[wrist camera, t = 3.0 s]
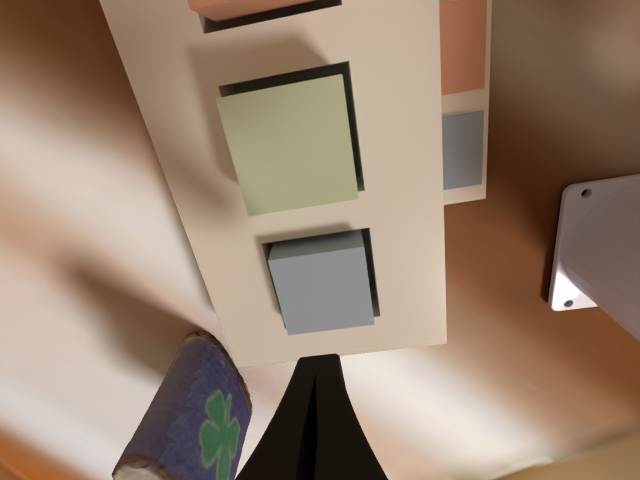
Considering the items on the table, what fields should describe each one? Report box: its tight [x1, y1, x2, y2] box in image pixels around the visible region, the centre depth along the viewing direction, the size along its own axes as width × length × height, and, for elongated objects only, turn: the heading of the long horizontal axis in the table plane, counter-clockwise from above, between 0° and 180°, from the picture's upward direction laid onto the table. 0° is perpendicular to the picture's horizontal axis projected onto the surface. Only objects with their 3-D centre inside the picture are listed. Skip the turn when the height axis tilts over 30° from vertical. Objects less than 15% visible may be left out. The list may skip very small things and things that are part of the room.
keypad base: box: [99, 0, 447, 368], centre depth 16 cm, size 12×24×3 cm, turn 10°
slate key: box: [268, 229, 375, 335], centre depth 18 cm, size 4×4×3 cm
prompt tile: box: [439, 0, 492, 205], centre depth 16 cm, size 3×10×1 cm, turn 10°
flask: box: [112, 331, 252, 480], centre depth 20 cm, size 9×3×11 cm, turn 14°
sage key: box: [215, 74, 359, 216], centre depth 14 cm, size 4×4×3 cm
